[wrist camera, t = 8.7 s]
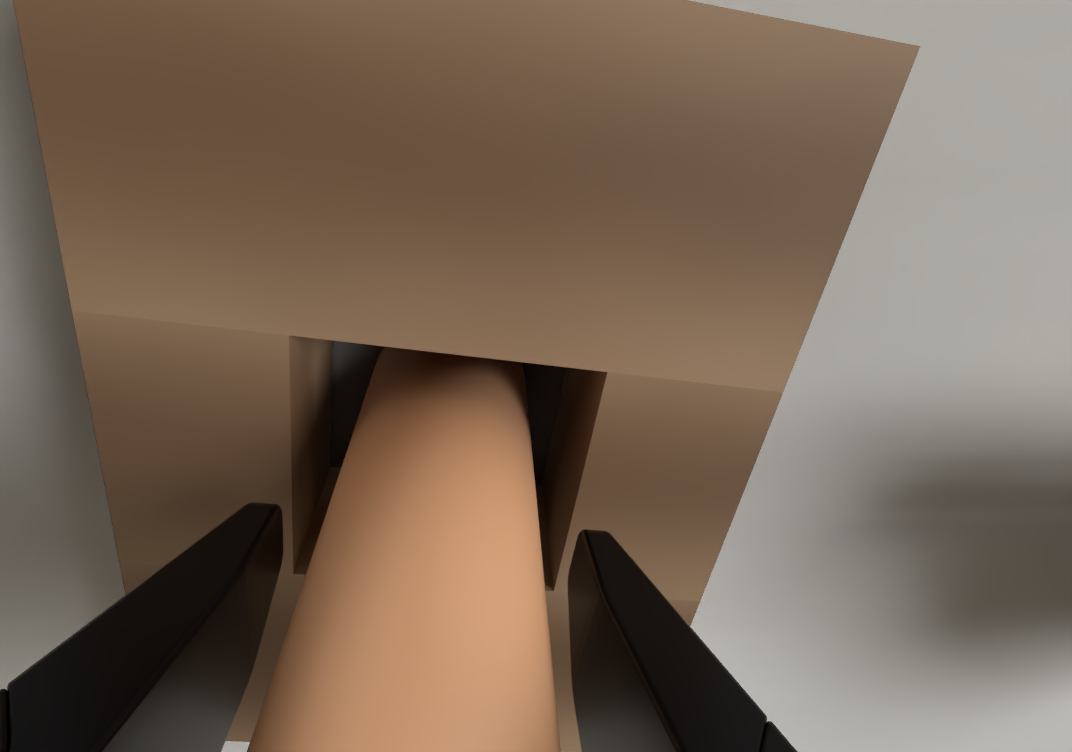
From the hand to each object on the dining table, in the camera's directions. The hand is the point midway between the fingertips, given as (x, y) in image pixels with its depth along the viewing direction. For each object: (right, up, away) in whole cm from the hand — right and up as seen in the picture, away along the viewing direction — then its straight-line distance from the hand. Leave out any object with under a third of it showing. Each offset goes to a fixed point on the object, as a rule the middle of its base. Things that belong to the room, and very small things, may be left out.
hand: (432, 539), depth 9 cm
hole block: (0, +2, +4) cm, 4 cm away
